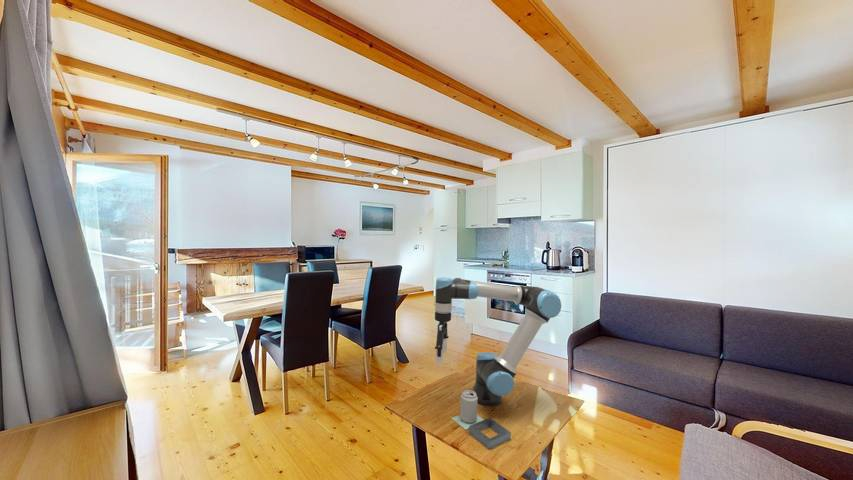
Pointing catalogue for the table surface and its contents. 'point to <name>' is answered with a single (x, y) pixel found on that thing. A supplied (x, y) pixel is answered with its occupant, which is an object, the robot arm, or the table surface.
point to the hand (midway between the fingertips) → (441, 357)
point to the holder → (488, 442)
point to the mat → (464, 424)
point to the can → (468, 406)
